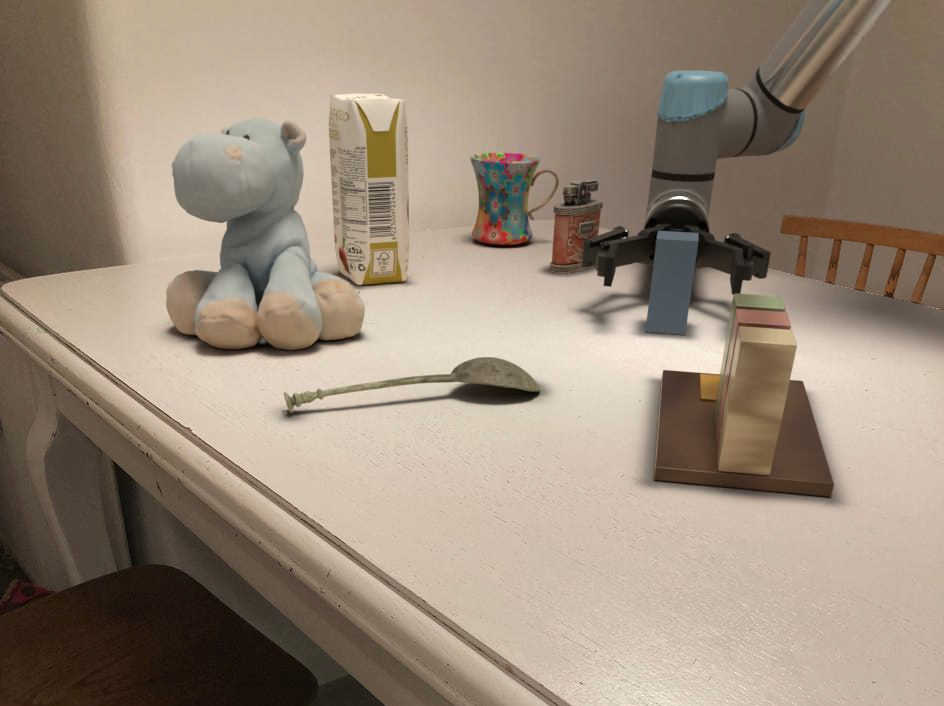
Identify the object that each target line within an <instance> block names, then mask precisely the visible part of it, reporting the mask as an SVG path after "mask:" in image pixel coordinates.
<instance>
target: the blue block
mask: <svg viewBox="0 0 944 706" xmlns="http://www.w3.org/2000/svg"><path fill="white" fill-rule="evenodd" d="M698 242H699V239H698V233H688V232H671V231H658V233H657V240H656V248H655V256H654V264H653V266H652V274H651V283H650V290H649V297H648V306H647V315H646V322H645V331H644V332H645V333H649V334H650V333H651V334H665V335H679V336H685V335H686V331H687V324H688V317H689V312H690V311H689V310H690V304H691V297H692V289H693V282H694V275H695V268H696V267H695V263H696V256H697V249H698Z"/></svg>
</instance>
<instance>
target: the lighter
mask: <svg viewBox="0 0 944 706" xmlns="http://www.w3.org/2000/svg"><path fill="white" fill-rule="evenodd" d="M599 183H600V182H599V181H598V179H594V178H593V179H587V180H578V179H577V180H576V179H575V180H574V179H572V180H571V181H570V183H569V184H567V185H563V187H562V196H563V201H564V202H560V203H557V204H554V205H553V213H554V223H553V224H554V225H553V239H552V255H551V262H550V263H549V272H552V273H554V274H569V273H570V274H571V273H575V272H580V271H584V270H585V271H586V270H588V269H591V268H593V267H596V265H594V266H591V267H583V266H581V262H582V250H583V241H584V240H587V239H590V238H592V237H595V236H598V235H600V234H599V232H600V221H601V210H602V209H603V207H604V206H603V205H604V201H603V200H601V199H595V198H592V193H595V192H598V191H599V186H600V185H599Z"/></svg>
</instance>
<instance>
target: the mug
mask: <svg viewBox="0 0 944 706" xmlns="http://www.w3.org/2000/svg"><path fill="white" fill-rule="evenodd" d="M469 159H470V163H471V165H472V169H473V171H474V175H475V179H476V185H477V190H478V191H477V193H478V210H477V216H476V220H475V223H474V226H473V229H472V231H471V236H472V238H473V239H474V240H476V241H479V242H481V243H483V244H486V245H487V244H488V245H493V246H516V245H521V244H523V243H526V242H528V241H530V240H532V238H533V236H534V235H533V231H532V229H531V225H530V221H529V219H530V220H531V221H534V220H535V217H534V216H533V215H532V213H535V212H536V211H539V210H540V209H541V208H542V209H543V207H545V206H546V205H547V204H548V203H549V202H550V201H551V200H552V198H553V197H554V195H555V193H556V192H557V190H558V188H559V182H560V179H559V178H560V177H559V176H558V174H557V172H556V171H554V170H553V169H551V168H544V169H541V170H539V171H538V172H536V170H537V168H538V166H539V164H540V161H541V158H540V157H539V156H536V155H533V154H526V153H516V152H483V153H475V154H472V155H470V157H469ZM535 173H536V174H535ZM545 173H549V174H550V175H553V176H554V178H555V184H554V187H553V189H552V191H551V192H550V194H549V195H548V197H547V198H546V199H545V200H544V201H542V202H541V203H540V204H539V205H537V206H535V207H533V208H532V209H529V208H528V207H529V205H528V204H529V196H530V190H531V187H534V184H535V183H536V180H537V178H538V177H539V176H541V175H543V174H545ZM528 209H529V210H528Z"/></svg>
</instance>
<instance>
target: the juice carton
mask: <svg viewBox="0 0 944 706" xmlns="http://www.w3.org/2000/svg"><path fill="white" fill-rule="evenodd" d="M408 131H409V128H408V120H407V112H406V106H405V99H404V98H390V97H389V96H388V95H385V94H384V93H341V94H340V93H339V94H330V102H329V114H328V140H329V143H328V144H329V159H330V160H329V161H330V178H331V179H330V180H331V181H330V182H331V199H332V217H333V234H334V235H333V236H334V251H335V256H336V257H335V258H336V260H337V266H338V269H339V272H340V274H342V275H343V276H344V277H346V278H348V279H349V280H351V281H352V283H354V284H355V285H358V286H365V285H366V286H367V285H378V284H379V285H380V284H390V283H401V282H406V281H407V276H408V271H409V270H408V268H409V259H410V213H409V209H410V207H409V203H410V202H409V200H410V199H409V136H408V135H409V132H408Z"/></svg>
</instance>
